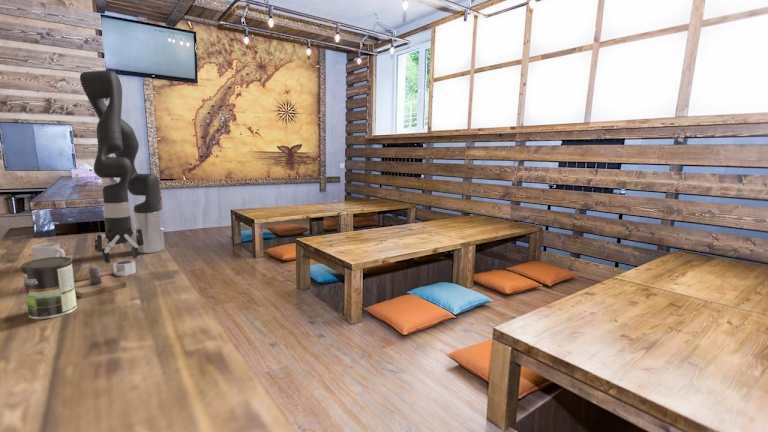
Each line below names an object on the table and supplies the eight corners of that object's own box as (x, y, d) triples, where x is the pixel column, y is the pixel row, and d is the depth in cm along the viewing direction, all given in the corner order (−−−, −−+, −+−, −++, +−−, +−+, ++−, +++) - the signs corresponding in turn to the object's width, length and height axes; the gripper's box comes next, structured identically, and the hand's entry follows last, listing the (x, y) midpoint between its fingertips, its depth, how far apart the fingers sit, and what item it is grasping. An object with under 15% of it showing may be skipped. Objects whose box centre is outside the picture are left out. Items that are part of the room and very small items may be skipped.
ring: (130, 269, 141) (129, 258, 141) (138, 272, 138) (137, 261, 137) (111, 273, 136) (110, 262, 136) (119, 276, 133) (118, 265, 132)
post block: (109, 279, 131) (107, 260, 130) (126, 286, 124) (124, 267, 123) (66, 289, 121) (63, 269, 120) (81, 298, 114) (79, 277, 113)
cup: (75, 263, 147) (72, 243, 146) (55, 269, 139) (52, 248, 138) (49, 262, 148) (46, 242, 147) (28, 268, 140) (25, 247, 139)
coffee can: (39, 323, 98) (31, 270, 96) (21, 314, 103) (13, 263, 100) (85, 308, 107) (79, 260, 105) (66, 301, 112) (60, 254, 109)
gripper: (134, 211, 141) (138, 254, 144) (88, 216, 130) (93, 262, 132) (144, 213, 137) (148, 258, 140) (97, 218, 125) (102, 266, 128)
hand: (121, 260), depth 136 cm, fingers open, 8 cm apart
